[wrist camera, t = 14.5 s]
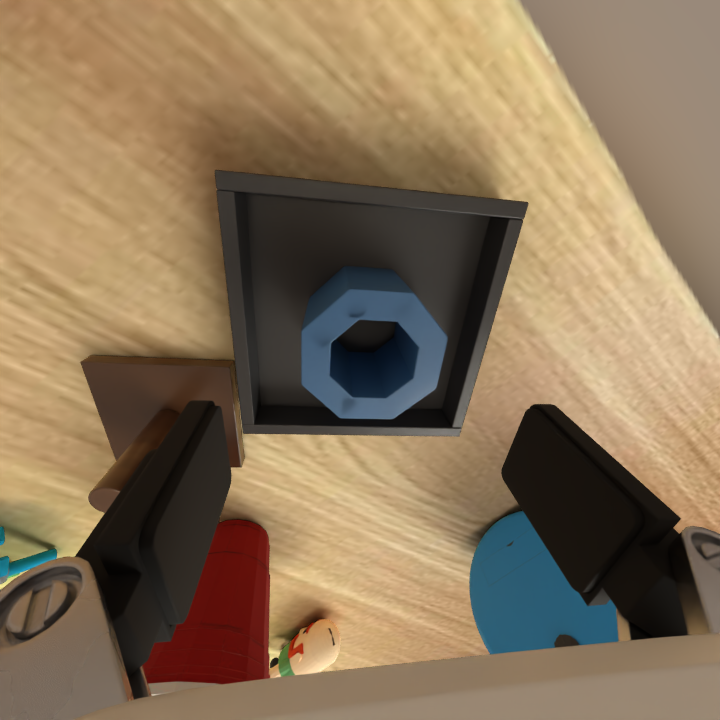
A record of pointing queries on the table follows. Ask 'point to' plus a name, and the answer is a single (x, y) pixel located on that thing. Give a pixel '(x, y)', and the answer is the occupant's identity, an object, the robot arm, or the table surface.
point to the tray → (359, 249)
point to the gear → (22, 561)
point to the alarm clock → (530, 595)
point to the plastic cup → (221, 618)
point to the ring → (369, 370)
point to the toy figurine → (308, 650)
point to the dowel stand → (154, 408)
